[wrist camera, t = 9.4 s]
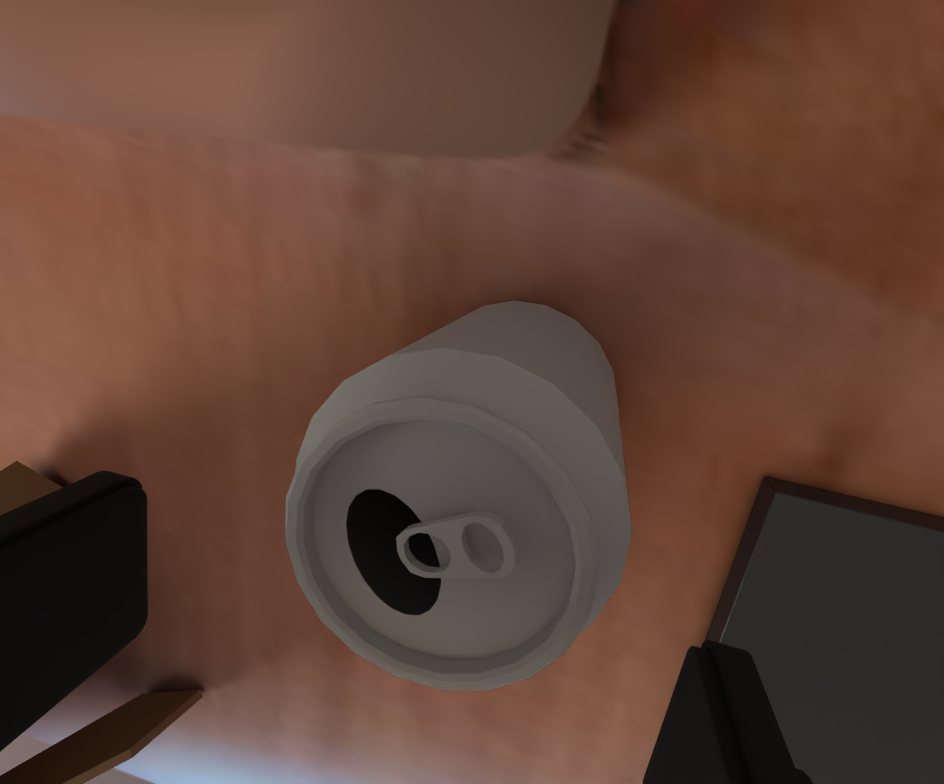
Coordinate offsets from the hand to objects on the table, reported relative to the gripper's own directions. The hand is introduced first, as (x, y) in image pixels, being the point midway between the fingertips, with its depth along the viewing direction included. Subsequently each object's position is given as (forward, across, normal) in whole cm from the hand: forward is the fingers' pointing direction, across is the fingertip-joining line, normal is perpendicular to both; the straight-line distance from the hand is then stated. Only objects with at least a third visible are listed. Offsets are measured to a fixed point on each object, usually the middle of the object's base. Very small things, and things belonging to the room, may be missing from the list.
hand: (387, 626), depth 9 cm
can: (+14, 0, -1) cm, 14 cm away
